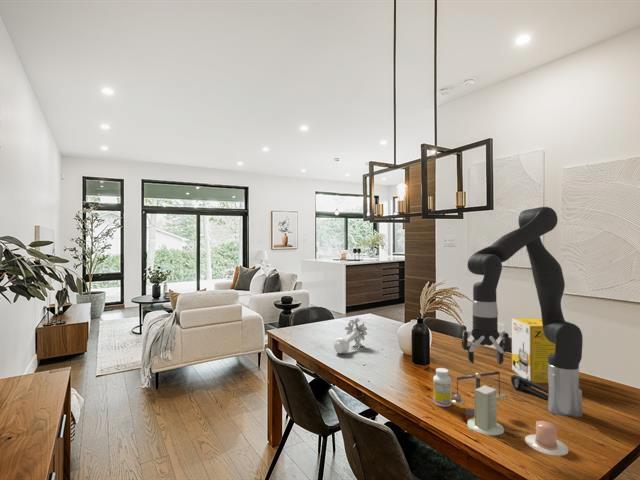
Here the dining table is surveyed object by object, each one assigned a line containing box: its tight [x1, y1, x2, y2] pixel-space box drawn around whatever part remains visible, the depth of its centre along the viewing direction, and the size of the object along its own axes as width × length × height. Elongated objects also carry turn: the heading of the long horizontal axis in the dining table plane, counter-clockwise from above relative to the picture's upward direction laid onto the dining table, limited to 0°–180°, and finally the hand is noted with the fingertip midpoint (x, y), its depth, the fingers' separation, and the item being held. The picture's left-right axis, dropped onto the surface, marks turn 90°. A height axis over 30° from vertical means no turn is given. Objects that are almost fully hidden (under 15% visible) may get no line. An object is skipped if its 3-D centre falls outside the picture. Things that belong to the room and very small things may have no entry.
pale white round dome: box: [466, 417, 505, 436], centre depth 116 cm, size 11×11×1 cm
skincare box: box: [474, 384, 498, 431], centre depth 116 cm, size 6×4×12 cm
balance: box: [450, 371, 508, 417], centre depth 125 cm, size 19×5×16 cm, turn 80°
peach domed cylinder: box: [535, 420, 558, 450], centre depth 105 cm, size 6×6×6 cm
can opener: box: [510, 374, 548, 401], centre depth 143 cm, size 18×7×6 cm, turn 26°
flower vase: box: [333, 317, 368, 355], centre depth 202 cm, size 13×18×25 cm
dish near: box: [524, 433, 569, 457], centre depth 105 cm, size 11×11×1 cm
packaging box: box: [511, 317, 555, 384], centre depth 161 cm, size 16×16×25 cm
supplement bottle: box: [432, 367, 453, 408], centre depth 135 cm, size 7×7×13 cm
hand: (485, 363), depth 116 cm, fingers open, 8 cm apart
